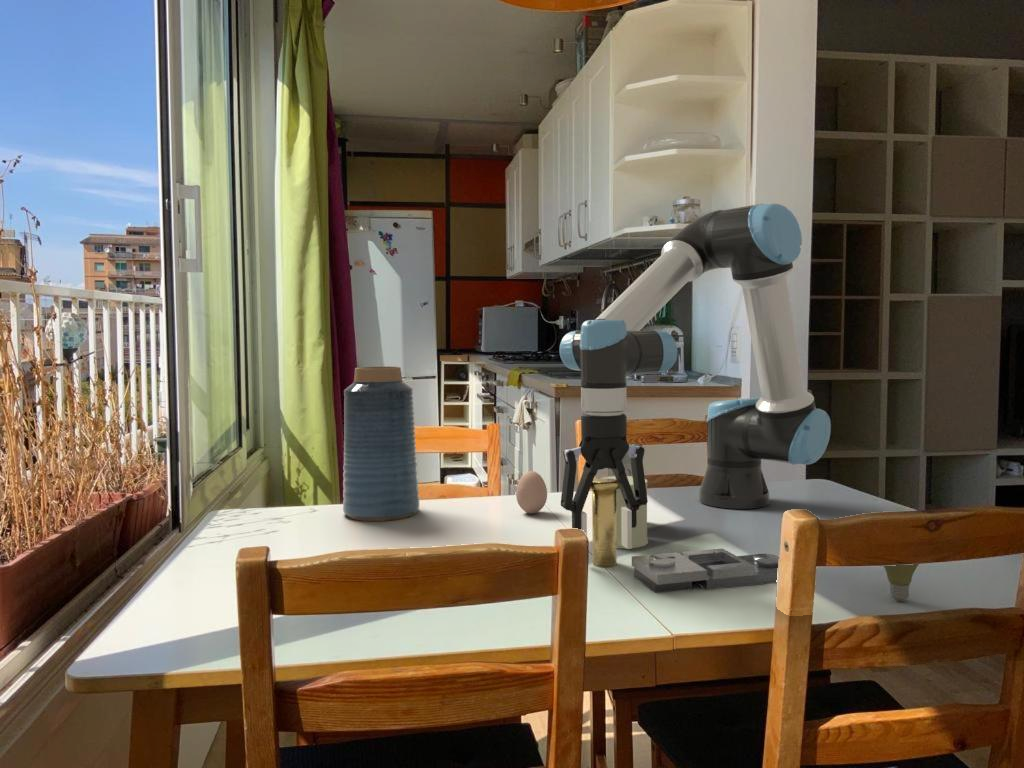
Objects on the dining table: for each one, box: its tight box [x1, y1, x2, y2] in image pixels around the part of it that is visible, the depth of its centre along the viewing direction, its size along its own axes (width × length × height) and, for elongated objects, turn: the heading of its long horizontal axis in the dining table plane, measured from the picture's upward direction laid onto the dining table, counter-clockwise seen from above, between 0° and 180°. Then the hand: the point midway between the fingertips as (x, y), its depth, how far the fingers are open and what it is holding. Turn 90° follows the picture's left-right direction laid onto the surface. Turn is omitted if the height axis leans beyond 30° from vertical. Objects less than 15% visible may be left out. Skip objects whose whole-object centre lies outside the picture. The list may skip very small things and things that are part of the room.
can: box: [602, 476, 649, 550], centre depth 150 cm, size 9×9×12 cm
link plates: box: [631, 548, 780, 593], centre depth 128 cm, size 24×10×4 cm, turn 104°
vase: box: [342, 365, 420, 522], centre depth 175 cm, size 16×16×32 cm
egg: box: [515, 470, 548, 515], centre depth 174 cm, size 7×7×9 cm
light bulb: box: [883, 563, 920, 602], centre depth 117 cm, size 6×6×10 cm
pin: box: [590, 477, 620, 568], centre depth 136 cm, size 5×5×14 cm
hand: (604, 548), depth 137 cm, fingers open, 7 cm apart
